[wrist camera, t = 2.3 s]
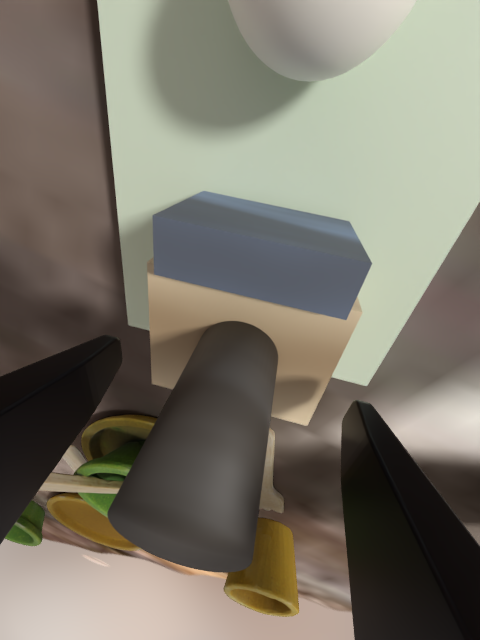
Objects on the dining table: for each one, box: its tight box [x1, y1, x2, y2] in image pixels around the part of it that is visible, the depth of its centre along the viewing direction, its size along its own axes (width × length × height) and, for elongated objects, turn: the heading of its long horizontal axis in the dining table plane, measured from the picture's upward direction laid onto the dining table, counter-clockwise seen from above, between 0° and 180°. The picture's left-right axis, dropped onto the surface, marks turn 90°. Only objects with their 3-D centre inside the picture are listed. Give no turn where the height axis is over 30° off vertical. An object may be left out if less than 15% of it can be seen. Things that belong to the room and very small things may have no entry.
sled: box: [107, 191, 372, 572], centre depth 8 cm, size 6×6×8 cm
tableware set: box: [5, 415, 299, 617], centre depth 27 cm, size 41×28×6 cm
